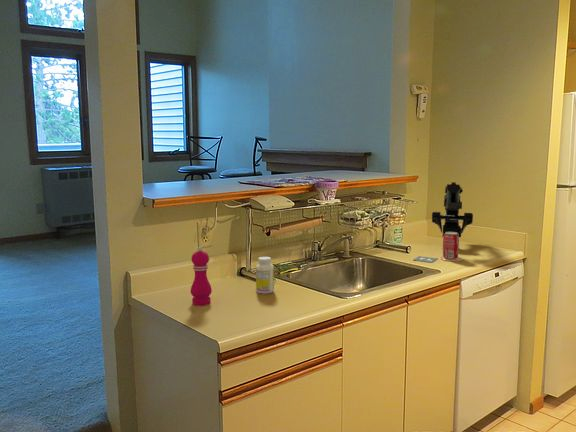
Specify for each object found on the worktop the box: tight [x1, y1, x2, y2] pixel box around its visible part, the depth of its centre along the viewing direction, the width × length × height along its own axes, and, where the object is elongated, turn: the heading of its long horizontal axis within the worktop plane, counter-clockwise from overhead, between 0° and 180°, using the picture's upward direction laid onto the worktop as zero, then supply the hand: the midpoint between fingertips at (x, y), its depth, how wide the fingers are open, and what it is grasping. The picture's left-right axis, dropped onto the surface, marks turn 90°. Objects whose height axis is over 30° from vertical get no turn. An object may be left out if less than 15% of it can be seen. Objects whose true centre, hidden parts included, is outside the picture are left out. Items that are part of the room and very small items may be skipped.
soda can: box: [442, 232, 460, 259], centre depth 253 cm, size 7×7×12 cm
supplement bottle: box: [255, 256, 275, 295], centre depth 203 cm, size 7×7×13 cm
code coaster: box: [412, 255, 439, 264], centre depth 254 cm, size 9×9×1 cm
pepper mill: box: [190, 246, 213, 307], centre depth 189 cm, size 7×7×20 cm
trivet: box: [439, 255, 463, 263], centre depth 254 cm, size 10×10×1 cm
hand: (451, 232), depth 258 cm, fingers open, 9 cm apart
